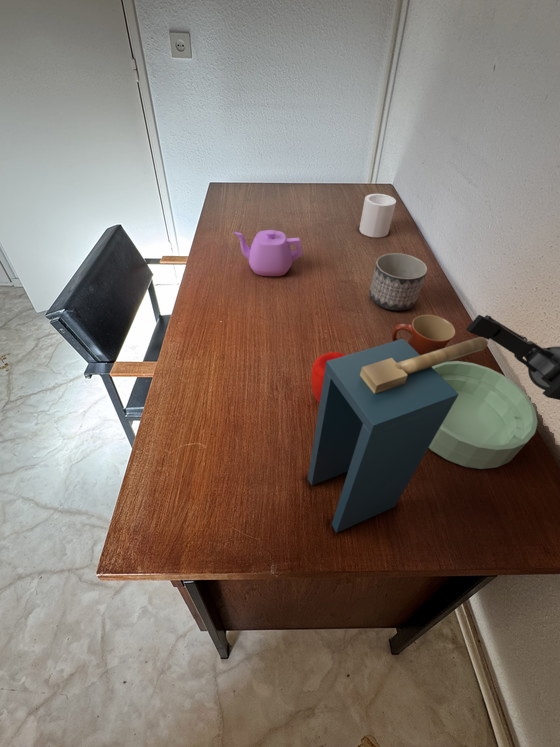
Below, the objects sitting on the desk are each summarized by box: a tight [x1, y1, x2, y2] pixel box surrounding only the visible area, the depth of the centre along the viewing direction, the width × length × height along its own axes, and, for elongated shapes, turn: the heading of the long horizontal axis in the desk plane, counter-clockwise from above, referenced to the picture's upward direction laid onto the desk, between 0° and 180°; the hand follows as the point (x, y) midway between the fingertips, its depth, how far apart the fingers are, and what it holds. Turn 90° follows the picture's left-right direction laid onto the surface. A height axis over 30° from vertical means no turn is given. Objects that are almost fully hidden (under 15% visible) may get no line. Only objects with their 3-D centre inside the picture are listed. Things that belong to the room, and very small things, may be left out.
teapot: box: [232, 229, 304, 277], centre depth 107 cm, size 13×20×11 cm
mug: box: [391, 314, 456, 355], centre depth 80 cm, size 12×9×10 cm
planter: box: [368, 252, 428, 311], centre depth 97 cm, size 13×13×10 cm
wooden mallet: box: [360, 336, 489, 394], centre depth 43 cm, size 17×3×2 cm, turn 113°
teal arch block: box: [307, 338, 459, 533], centre depth 52 cm, size 10×11×28 cm
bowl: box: [428, 360, 539, 470], centre depth 70 cm, size 21×21×7 cm
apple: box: [310, 351, 347, 404], centre depth 72 cm, size 9×9×11 cm
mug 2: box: [358, 193, 397, 238], centre depth 127 cm, size 14×10×11 cm
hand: (510, 352), depth 50 cm, fingers open, 13 cm apart
